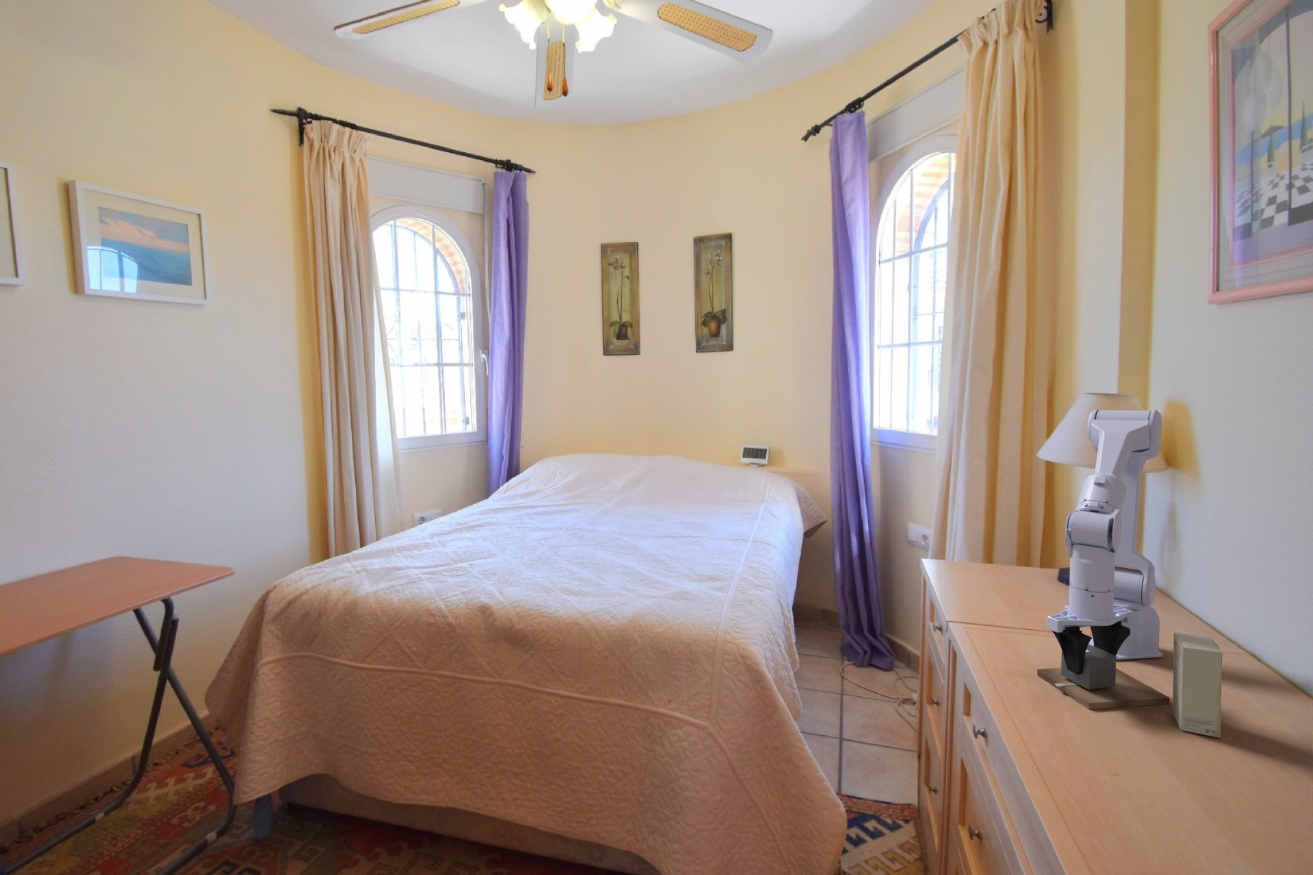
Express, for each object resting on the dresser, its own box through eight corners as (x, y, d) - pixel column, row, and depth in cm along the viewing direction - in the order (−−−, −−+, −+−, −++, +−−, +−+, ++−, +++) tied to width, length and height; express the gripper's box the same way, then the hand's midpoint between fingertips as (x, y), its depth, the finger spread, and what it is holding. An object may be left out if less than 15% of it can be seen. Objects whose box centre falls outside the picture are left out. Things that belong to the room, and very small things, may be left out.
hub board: (1109, 670, 102) (1110, 650, 101) (1169, 703, 91) (1170, 681, 90) (1032, 675, 101) (1032, 655, 100) (1083, 709, 90) (1084, 687, 89)
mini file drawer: (1086, 671, 99) (1087, 642, 98) (1115, 685, 94) (1116, 655, 93) (1060, 674, 98) (1061, 645, 97) (1089, 689, 93) (1090, 658, 92)
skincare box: (1221, 739, 82) (1225, 653, 81) (1178, 730, 84) (1182, 646, 83) (1209, 717, 87) (1213, 636, 86) (1169, 709, 89) (1173, 630, 88)
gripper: (1104, 574, 100) (1102, 653, 101) (1031, 583, 97) (1029, 663, 98) (1147, 588, 93) (1144, 672, 94) (1070, 597, 90) (1067, 684, 91)
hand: (1088, 669), depth 95 cm, fingers closed on mini file drawer, 5 cm apart
